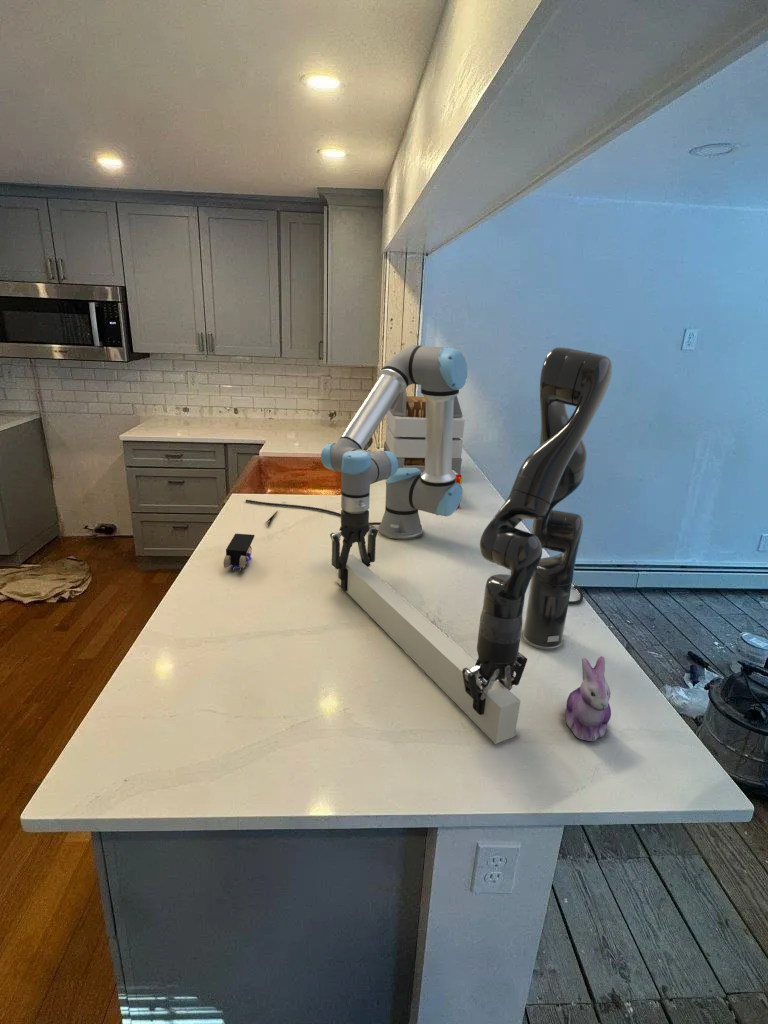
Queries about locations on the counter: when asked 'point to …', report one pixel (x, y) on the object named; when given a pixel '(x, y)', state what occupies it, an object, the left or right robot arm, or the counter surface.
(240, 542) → the black wheeled rover
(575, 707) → the figurine
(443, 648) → the post
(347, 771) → the counter surface
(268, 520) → the feather
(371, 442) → the fossil
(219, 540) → the counter surface
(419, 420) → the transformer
